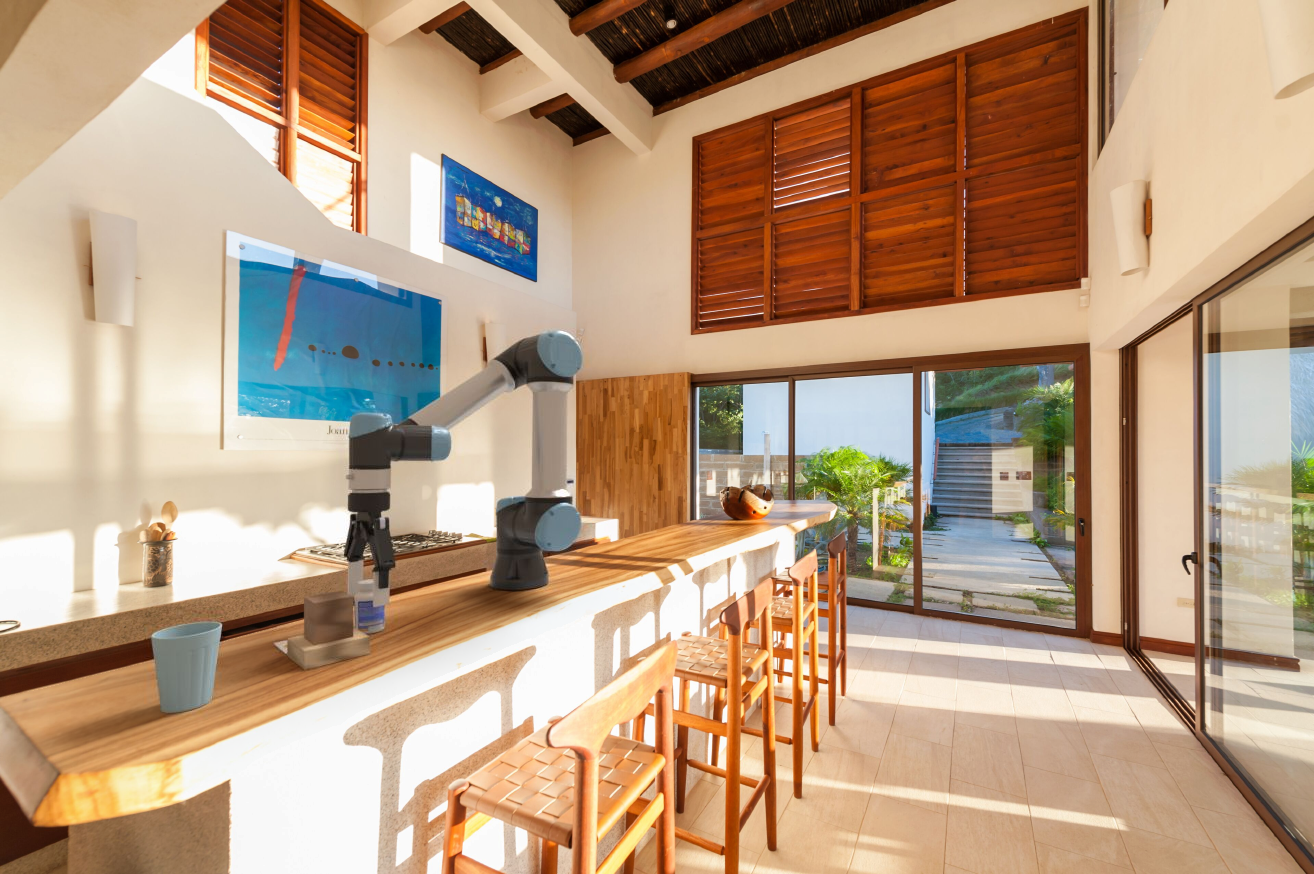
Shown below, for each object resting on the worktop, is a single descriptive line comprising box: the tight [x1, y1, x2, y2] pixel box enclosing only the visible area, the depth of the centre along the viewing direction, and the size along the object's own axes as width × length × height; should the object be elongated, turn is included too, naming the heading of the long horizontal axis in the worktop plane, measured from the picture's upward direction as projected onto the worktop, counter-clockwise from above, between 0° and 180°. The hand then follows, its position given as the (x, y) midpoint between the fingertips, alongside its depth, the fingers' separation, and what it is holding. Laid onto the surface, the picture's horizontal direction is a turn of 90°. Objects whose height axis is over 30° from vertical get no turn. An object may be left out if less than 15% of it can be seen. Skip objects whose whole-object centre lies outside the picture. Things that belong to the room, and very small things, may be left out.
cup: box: [150, 621, 223, 714], centre depth 80 cm, size 8×8×10 cm
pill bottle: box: [353, 578, 386, 635], centre depth 113 cm, size 5×5×10 cm
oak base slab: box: [286, 626, 371, 671], centre depth 99 cm, size 10×10×3 cm
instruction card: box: [273, 640, 287, 655], centre depth 106 cm, size 10×8×1 cm
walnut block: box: [303, 590, 354, 645], centre depth 100 cm, size 6×6×7 cm
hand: (367, 599), depth 113 cm, fingers open, 13 cm apart
